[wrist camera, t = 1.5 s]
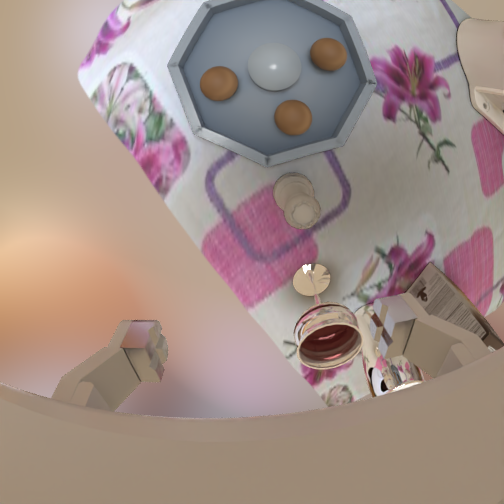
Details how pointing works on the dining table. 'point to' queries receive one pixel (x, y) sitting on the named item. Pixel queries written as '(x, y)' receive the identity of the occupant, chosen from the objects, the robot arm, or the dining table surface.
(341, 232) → the dining table surface
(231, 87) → the walnut bead
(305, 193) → the rook chess piece
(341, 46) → the walnut bead
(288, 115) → the walnut bead
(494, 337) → the coffee box
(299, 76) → the ring dish
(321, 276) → the wineglass
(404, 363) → the beer glass
